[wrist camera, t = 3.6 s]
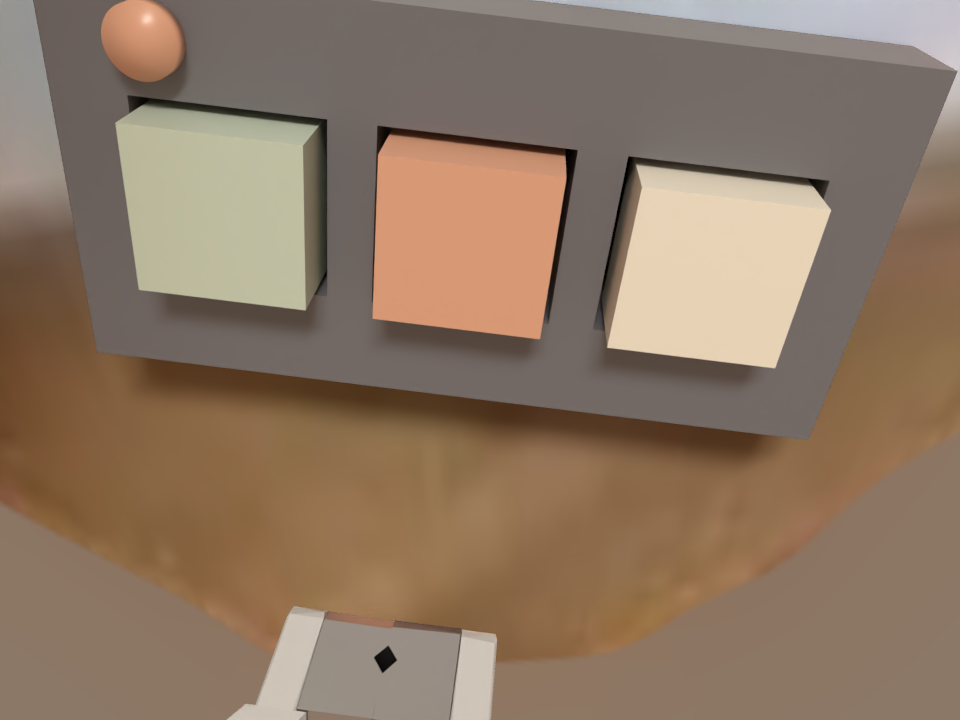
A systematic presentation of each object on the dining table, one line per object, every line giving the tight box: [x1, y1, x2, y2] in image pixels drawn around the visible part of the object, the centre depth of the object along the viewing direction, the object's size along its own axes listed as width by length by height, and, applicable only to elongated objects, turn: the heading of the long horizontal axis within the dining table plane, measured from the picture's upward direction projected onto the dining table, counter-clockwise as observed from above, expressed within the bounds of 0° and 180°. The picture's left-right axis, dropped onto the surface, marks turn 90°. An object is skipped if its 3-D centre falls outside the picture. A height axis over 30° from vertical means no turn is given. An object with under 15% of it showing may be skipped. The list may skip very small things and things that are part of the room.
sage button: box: [115, 98, 327, 310], centre depth 24 cm, size 5×5×3 cm
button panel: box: [33, 0, 957, 440], centre depth 25 cm, size 24×12×4 cm, turn 84°
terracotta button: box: [373, 127, 567, 339], centre depth 24 cm, size 5×5×3 cm
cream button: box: [602, 157, 831, 368], centre depth 24 cm, size 5×5×3 cm
